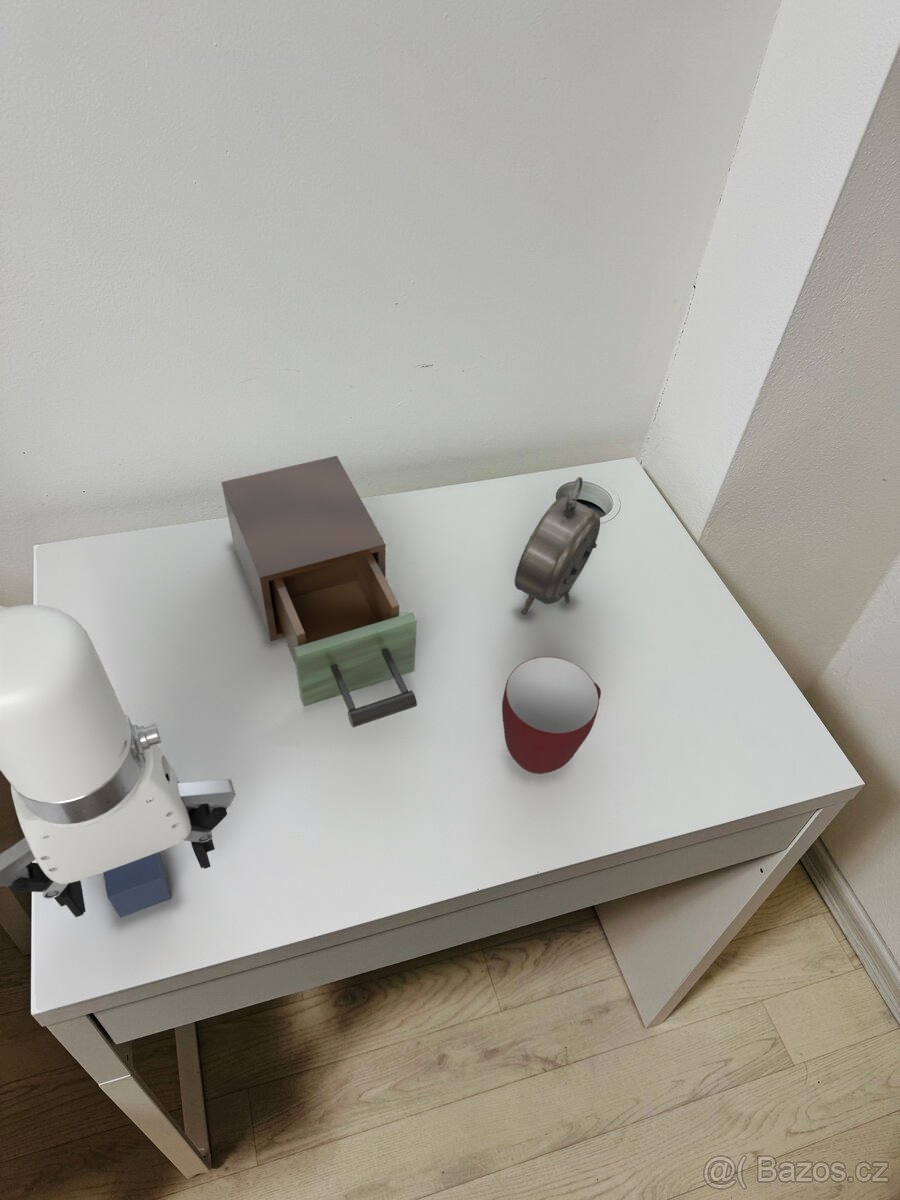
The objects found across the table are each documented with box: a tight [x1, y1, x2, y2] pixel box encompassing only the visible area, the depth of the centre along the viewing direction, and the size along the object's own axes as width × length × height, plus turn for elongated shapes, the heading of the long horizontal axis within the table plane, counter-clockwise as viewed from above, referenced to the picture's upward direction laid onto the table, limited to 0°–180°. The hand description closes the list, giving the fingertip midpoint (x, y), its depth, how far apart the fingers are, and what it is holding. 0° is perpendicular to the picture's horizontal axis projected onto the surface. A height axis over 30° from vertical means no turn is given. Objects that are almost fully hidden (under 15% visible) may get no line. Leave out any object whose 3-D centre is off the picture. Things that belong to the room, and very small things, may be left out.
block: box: [102, 851, 172, 918], centre depth 67 cm, size 4×4×4 cm
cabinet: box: [221, 455, 386, 642], centre depth 88 cm, size 15×13×10 cm
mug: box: [501, 656, 602, 775], centre depth 75 cm, size 10×8×10 cm
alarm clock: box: [514, 476, 601, 616], centre depth 86 cm, size 11×5×16 cm, turn 147°
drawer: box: [269, 554, 418, 729], centre depth 80 cm, size 20×11×8 cm, turn 24°
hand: (141, 874), depth 67 cm, fingers open, 9 cm apart
